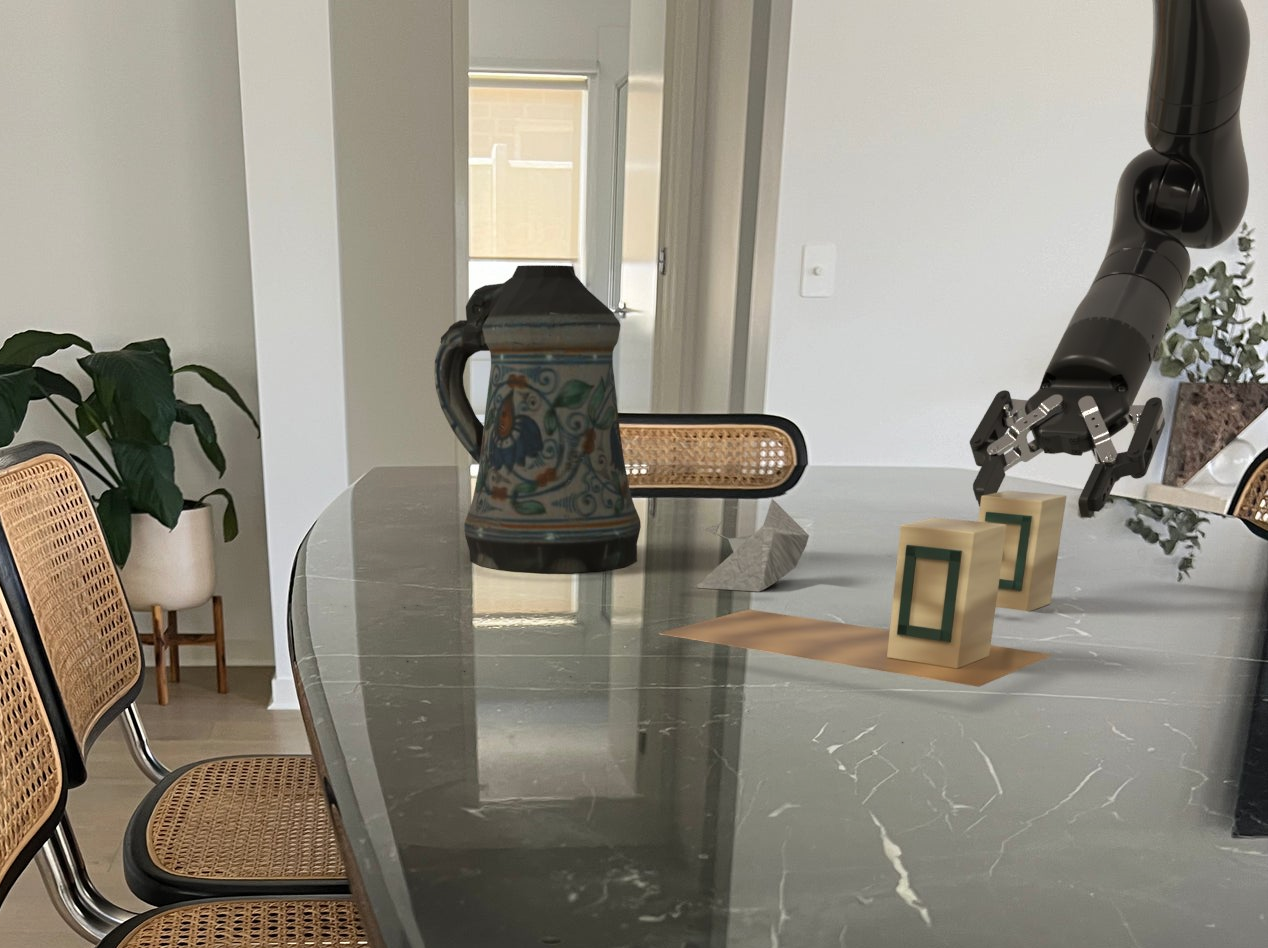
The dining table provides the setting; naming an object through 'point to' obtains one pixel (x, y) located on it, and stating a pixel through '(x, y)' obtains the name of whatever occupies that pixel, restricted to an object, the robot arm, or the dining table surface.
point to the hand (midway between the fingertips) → (1031, 506)
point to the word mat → (844, 646)
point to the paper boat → (759, 554)
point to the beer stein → (541, 426)
